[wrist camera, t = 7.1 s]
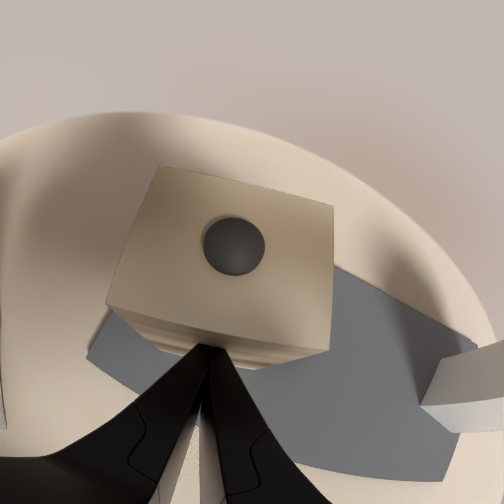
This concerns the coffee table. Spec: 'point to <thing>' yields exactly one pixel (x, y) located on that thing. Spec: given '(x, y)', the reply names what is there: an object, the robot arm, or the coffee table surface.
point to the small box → (2, 413)
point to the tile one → (228, 270)
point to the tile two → (469, 391)
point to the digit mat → (334, 386)
